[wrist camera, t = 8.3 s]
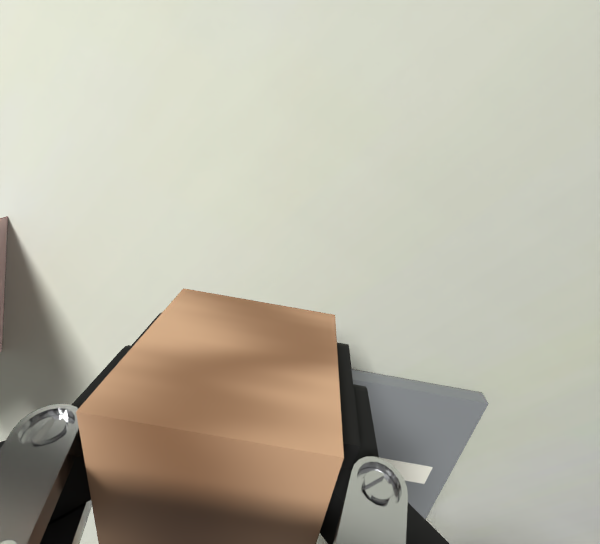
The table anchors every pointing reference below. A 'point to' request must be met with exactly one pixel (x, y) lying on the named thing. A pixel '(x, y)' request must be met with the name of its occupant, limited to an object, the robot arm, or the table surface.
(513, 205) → the table surface
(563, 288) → the table surface
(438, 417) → the letter pad
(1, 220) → the greeting card
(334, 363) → the covering block
